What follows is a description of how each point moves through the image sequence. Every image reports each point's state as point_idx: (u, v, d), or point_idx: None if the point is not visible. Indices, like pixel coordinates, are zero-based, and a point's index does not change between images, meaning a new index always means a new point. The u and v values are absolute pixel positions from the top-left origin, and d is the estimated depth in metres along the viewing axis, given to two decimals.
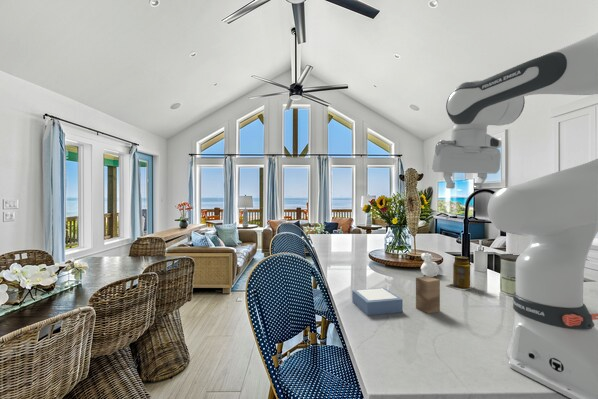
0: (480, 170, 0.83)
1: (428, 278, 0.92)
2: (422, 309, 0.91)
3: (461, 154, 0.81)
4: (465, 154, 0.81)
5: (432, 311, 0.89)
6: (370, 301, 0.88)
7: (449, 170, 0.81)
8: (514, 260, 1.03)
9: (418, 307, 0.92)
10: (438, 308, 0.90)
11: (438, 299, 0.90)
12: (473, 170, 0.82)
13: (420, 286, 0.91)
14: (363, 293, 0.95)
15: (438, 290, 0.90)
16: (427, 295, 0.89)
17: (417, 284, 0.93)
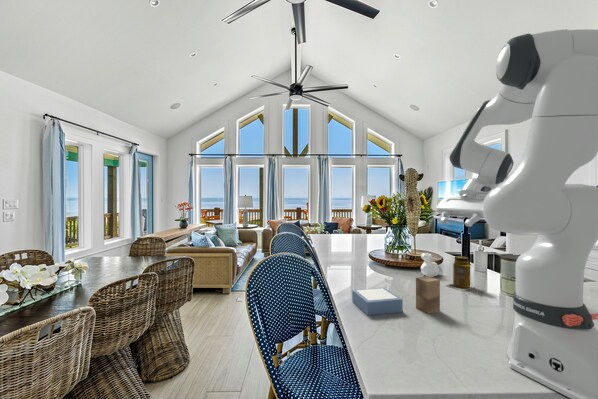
0: (468, 209, 0.94)
1: (428, 278, 0.92)
2: (422, 309, 0.91)
3: (458, 200, 1.01)
4: (461, 199, 1.00)
5: (432, 311, 0.89)
6: (370, 301, 0.88)
7: (442, 208, 1.04)
8: (514, 260, 1.03)
9: (418, 307, 0.92)
10: (438, 308, 0.90)
11: (438, 299, 0.90)
12: (462, 209, 0.97)
13: (420, 286, 0.91)
14: (363, 293, 0.95)
15: (438, 290, 0.90)
16: (427, 295, 0.89)
17: (417, 284, 0.93)
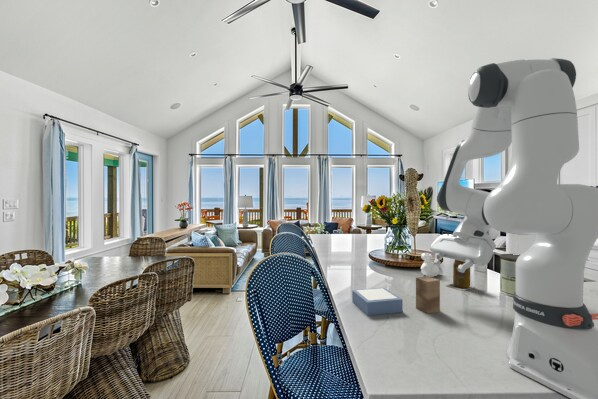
0: (461, 253, 0.93)
1: (428, 278, 0.92)
2: (422, 309, 0.91)
3: (452, 241, 1.00)
4: (454, 241, 0.99)
5: (432, 311, 0.89)
6: (370, 301, 0.88)
7: (435, 249, 1.02)
8: (514, 260, 1.03)
9: (418, 307, 0.92)
10: (438, 308, 0.90)
11: (438, 299, 0.90)
12: (455, 252, 0.95)
13: (420, 286, 0.91)
14: (363, 293, 0.95)
15: (438, 290, 0.90)
16: (427, 295, 0.89)
17: (417, 284, 0.93)
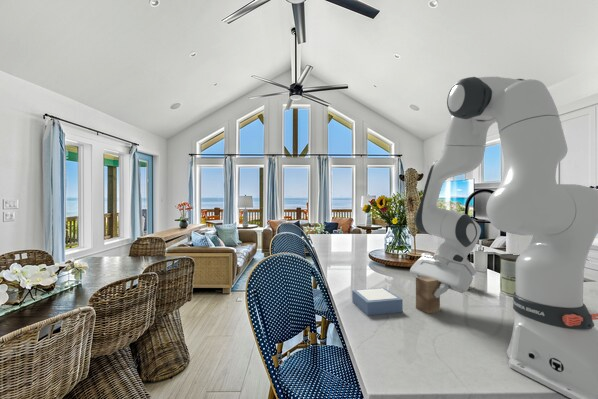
0: (440, 279, 0.89)
1: (428, 278, 0.92)
2: (422, 309, 0.91)
3: (431, 264, 0.97)
4: (434, 265, 0.96)
5: (432, 311, 0.89)
6: (370, 301, 0.88)
7: (415, 272, 0.99)
8: (514, 260, 1.03)
9: (418, 307, 0.92)
10: (438, 308, 0.90)
11: (438, 299, 0.90)
12: (434, 277, 0.92)
13: (420, 286, 0.91)
14: (363, 293, 0.95)
15: None
16: (427, 295, 0.89)
17: (417, 284, 0.93)
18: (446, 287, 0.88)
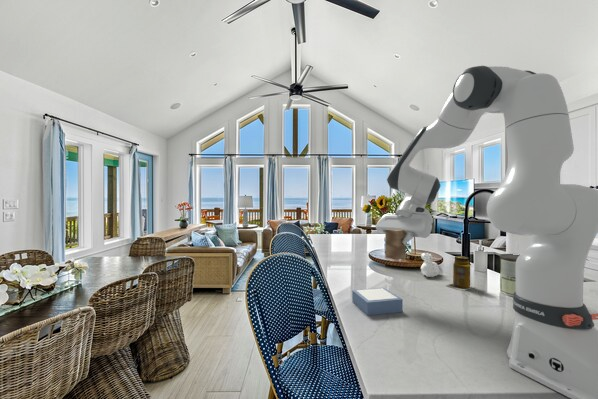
0: (406, 228, 1.01)
1: (395, 229, 1.03)
2: (392, 257, 1.01)
3: (395, 219, 1.08)
4: (398, 219, 1.07)
5: (401, 257, 1.00)
6: (370, 301, 0.88)
7: (381, 227, 1.09)
8: (514, 260, 1.03)
9: (388, 256, 1.02)
10: (404, 255, 1.02)
11: (404, 247, 1.02)
12: (400, 228, 1.03)
13: (390, 236, 1.01)
14: (363, 293, 0.95)
15: None
16: (397, 242, 0.99)
17: (387, 235, 1.02)
18: (412, 235, 1.00)
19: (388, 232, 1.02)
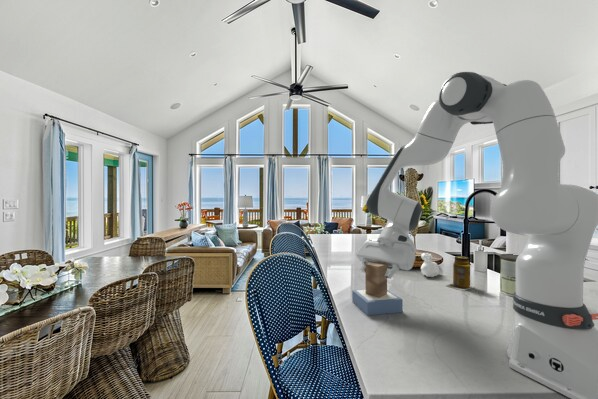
0: (388, 259, 0.93)
1: (376, 263, 0.95)
2: (372, 294, 0.93)
3: (377, 247, 1.00)
4: (380, 247, 0.99)
5: (381, 295, 0.92)
6: (370, 301, 0.88)
7: (362, 255, 1.01)
8: (514, 260, 1.03)
9: (368, 292, 0.94)
10: (386, 292, 0.94)
11: (386, 283, 0.94)
12: (382, 258, 0.95)
13: (370, 271, 0.93)
14: (363, 293, 0.95)
15: None
16: (378, 279, 0.91)
17: (367, 270, 0.94)
18: (397, 267, 0.91)
19: (368, 267, 0.94)
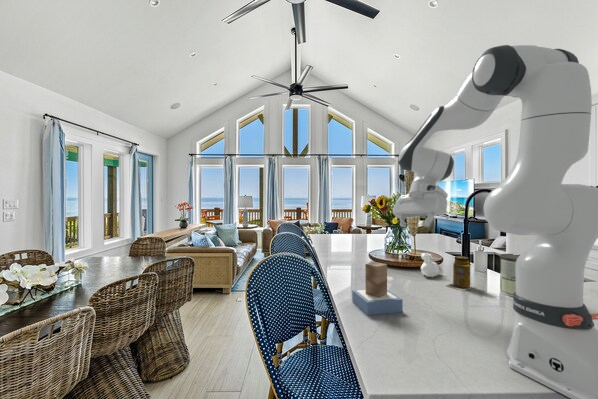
0: (422, 210, 1.01)
1: (376, 263, 0.95)
2: (372, 294, 0.93)
3: (410, 201, 1.08)
4: (412, 200, 1.07)
5: (381, 295, 0.92)
6: (370, 301, 0.88)
7: (398, 212, 1.10)
8: (514, 260, 1.03)
9: (368, 292, 0.94)
10: (386, 292, 0.94)
11: (386, 283, 0.94)
12: (416, 210, 1.03)
13: (370, 271, 0.93)
14: (363, 293, 0.95)
15: (386, 274, 0.94)
16: (378, 279, 0.91)
17: (367, 270, 0.94)
18: (432, 214, 0.99)
19: (368, 267, 0.94)
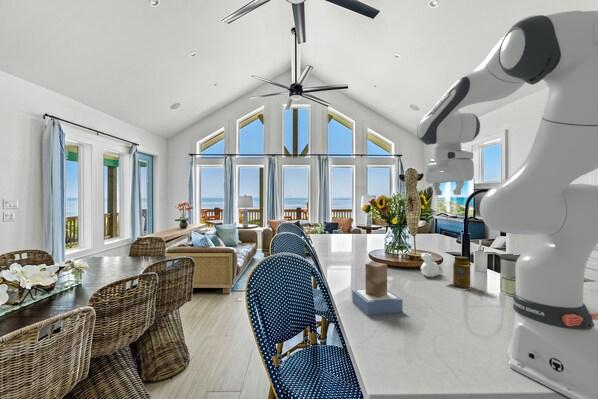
0: (449, 179, 0.99)
1: (376, 263, 0.95)
2: (372, 294, 0.93)
3: (437, 168, 1.05)
4: (439, 168, 1.04)
5: (381, 295, 0.92)
6: (370, 301, 0.88)
7: (430, 181, 1.09)
8: (514, 260, 1.03)
9: (368, 292, 0.94)
10: (386, 292, 0.94)
11: (386, 283, 0.94)
12: (445, 179, 1.01)
13: (370, 271, 0.93)
14: (363, 293, 0.95)
15: (386, 274, 0.94)
16: (378, 279, 0.91)
17: (367, 270, 0.94)
18: (461, 182, 0.96)
19: (368, 267, 0.94)
